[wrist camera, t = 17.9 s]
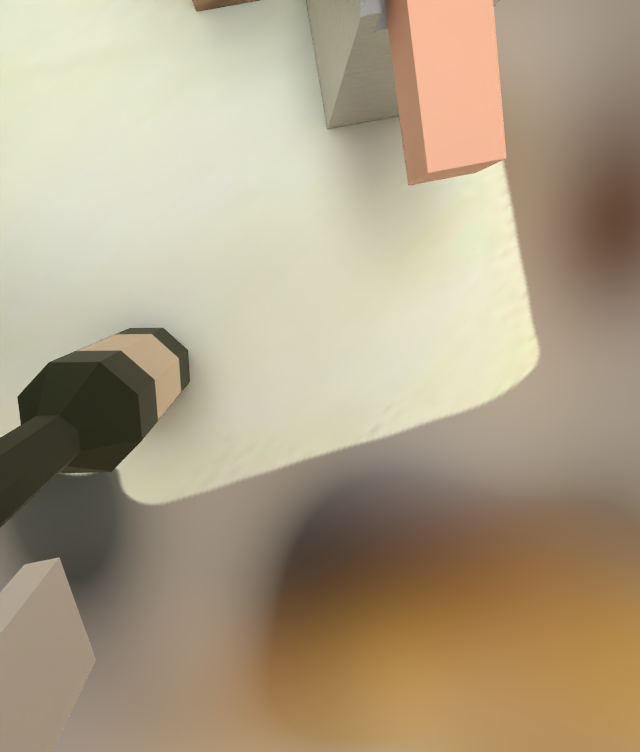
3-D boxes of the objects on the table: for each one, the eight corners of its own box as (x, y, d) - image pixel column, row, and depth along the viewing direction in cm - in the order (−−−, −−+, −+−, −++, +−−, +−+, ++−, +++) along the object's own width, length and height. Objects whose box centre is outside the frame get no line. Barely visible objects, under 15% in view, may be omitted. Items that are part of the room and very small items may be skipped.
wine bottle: (176, 417, 50) (21, 637, 21) (96, 389, 48) (-190, 580, 19) (203, 343, 48) (77, 467, 19) (121, 311, 47) (-148, 393, 18)
